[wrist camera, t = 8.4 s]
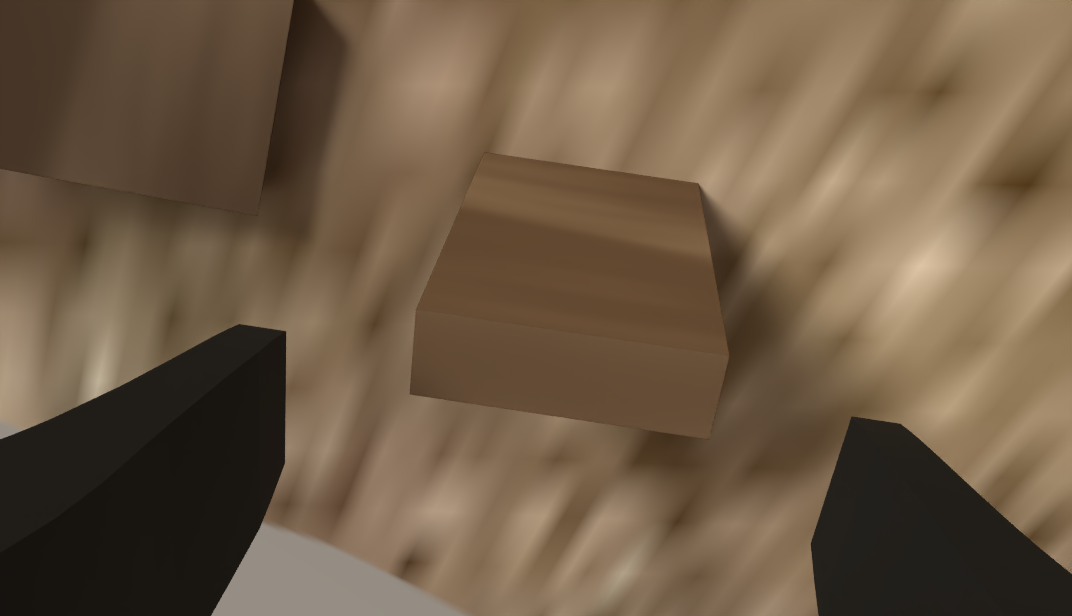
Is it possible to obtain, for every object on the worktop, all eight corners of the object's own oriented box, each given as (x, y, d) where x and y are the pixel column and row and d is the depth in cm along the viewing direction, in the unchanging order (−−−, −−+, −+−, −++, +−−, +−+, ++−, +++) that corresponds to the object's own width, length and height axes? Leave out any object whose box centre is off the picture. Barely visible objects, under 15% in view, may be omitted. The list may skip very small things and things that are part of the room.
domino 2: (685, 246, 21) (708, 439, 14) (477, 215, 21) (409, 394, 14) (698, 183, 20) (729, 356, 14) (484, 152, 20) (416, 309, 14)
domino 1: (262, 188, 21) (-122, 114, 19) (297, -19, 19) (-127, -126, 17) (257, 216, 20) (-153, 140, 18) (293, -2, 18) (-163, -114, 16)
